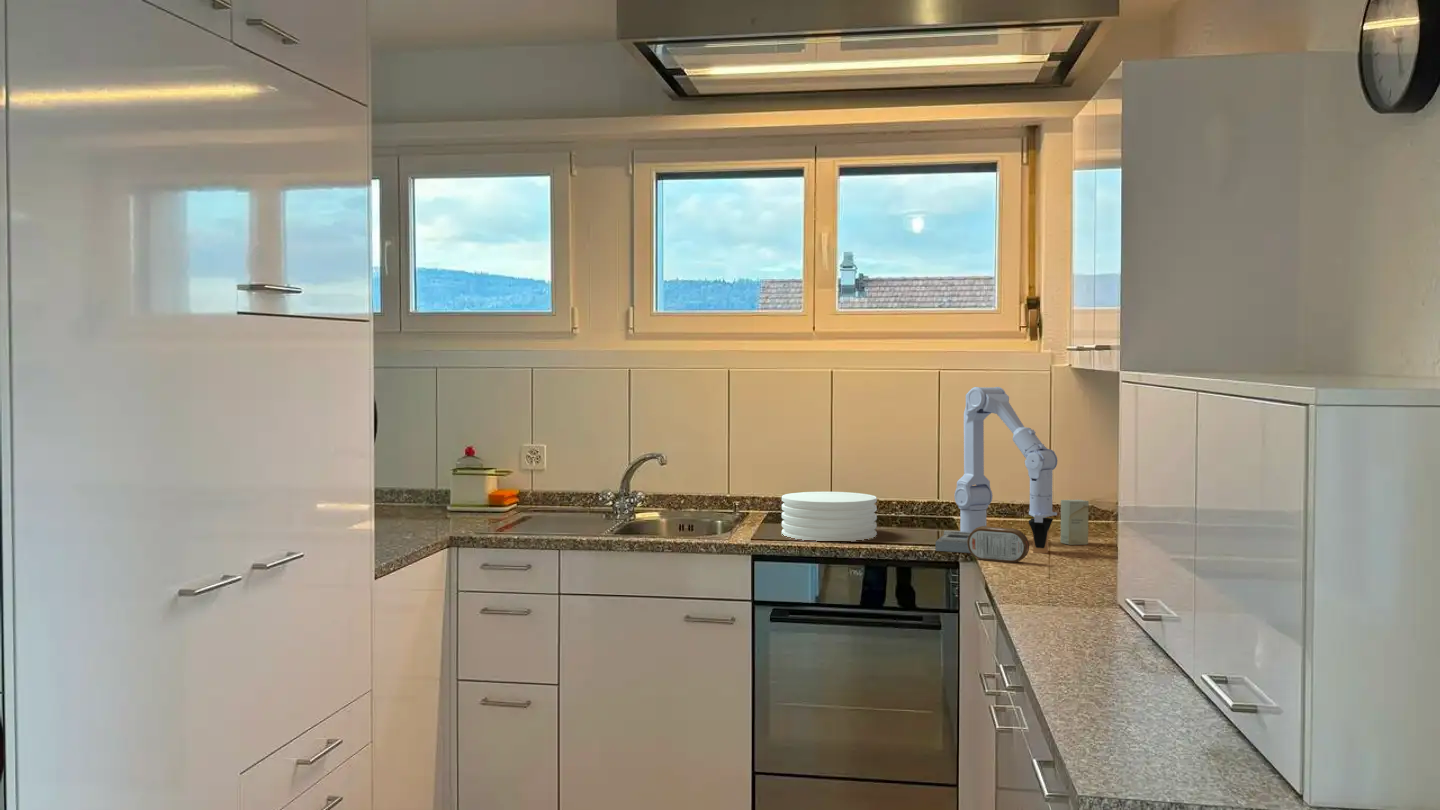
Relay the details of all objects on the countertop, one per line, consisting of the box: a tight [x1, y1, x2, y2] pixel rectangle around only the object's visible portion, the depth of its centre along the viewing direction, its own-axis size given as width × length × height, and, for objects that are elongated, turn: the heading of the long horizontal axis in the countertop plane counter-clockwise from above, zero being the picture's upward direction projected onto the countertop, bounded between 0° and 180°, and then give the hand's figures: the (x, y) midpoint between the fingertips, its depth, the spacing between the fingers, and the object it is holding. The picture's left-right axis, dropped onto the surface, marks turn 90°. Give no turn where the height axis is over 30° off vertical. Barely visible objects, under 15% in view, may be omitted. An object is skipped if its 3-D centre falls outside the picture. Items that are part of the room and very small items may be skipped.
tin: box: [967, 525, 1030, 564], centre depth 242 cm, size 15×3×8 cm, turn 59°
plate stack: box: [781, 491, 878, 542], centre depth 286 cm, size 28×28×12 cm
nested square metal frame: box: [935, 529, 971, 554], centre depth 260 cm, size 12×10×4 cm
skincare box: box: [1060, 499, 1090, 546], centre depth 268 cm, size 6×4×12 cm
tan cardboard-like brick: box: [1032, 531, 1049, 554], centre depth 255 cm, size 4×4×6 cm
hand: (1040, 546), depth 255 cm, fingers closed on tan cardboard-like brick, 3 cm apart
